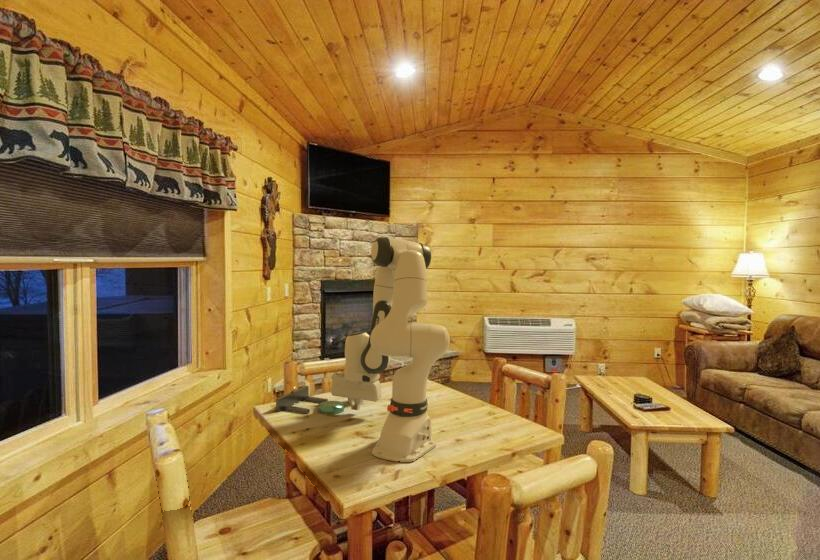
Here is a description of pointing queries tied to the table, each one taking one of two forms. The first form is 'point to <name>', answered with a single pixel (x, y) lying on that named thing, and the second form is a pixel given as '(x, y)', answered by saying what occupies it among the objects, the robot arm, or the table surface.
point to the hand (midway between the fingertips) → (355, 409)
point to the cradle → (296, 400)
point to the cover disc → (330, 407)
